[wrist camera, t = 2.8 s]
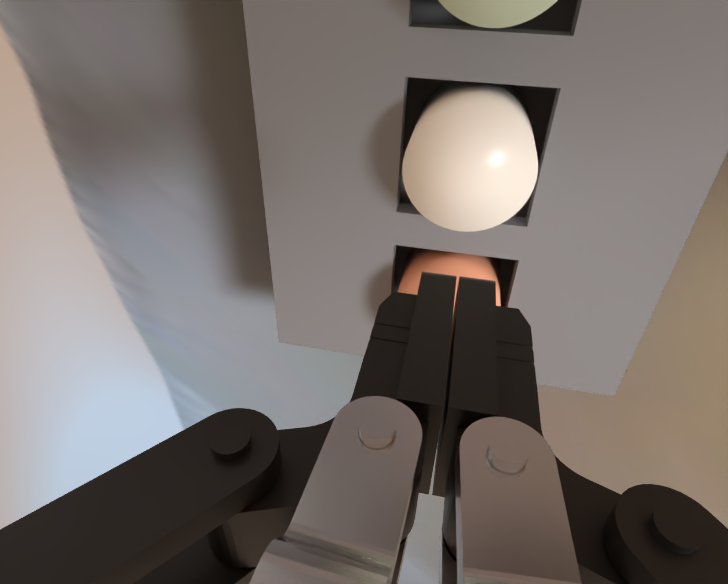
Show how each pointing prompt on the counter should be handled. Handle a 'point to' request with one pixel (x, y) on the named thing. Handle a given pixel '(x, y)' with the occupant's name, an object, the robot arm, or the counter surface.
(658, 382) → the counter surface
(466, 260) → the terracotta button
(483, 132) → the off-white button
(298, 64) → the button console
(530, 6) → the sage button
